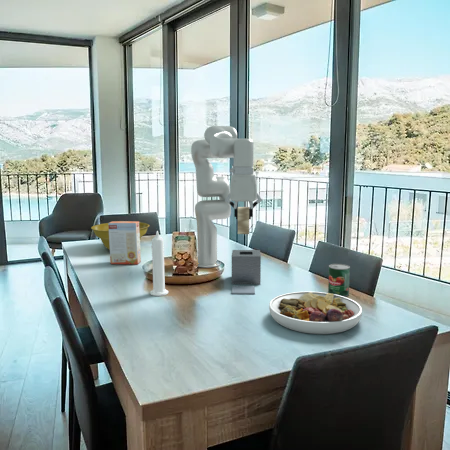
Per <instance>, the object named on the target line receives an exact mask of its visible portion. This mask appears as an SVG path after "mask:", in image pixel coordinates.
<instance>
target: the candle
mask: <svg viewBox="0 0 450 450" xmlns="http://www.w3.org/2000/svg"><path fill="white" fill-rule="evenodd" d="M159 233H160V232H159V230H156V233H155V235H154V237H153V238H152V239H151V257H152V259H151V260H152V261H151V262H152V288H153V289H152V290H150V291H149V294H150V295H151V296H153V297H164V296H167V295H168V294H169V290H167V289H166V284H165V283H166V282H165V281H166V280H165V278H166V277H165V250H164V249H165V248H164V246H165V245H164V241H165V240H164V238H163V237H162V236H160V234H159Z"/></svg>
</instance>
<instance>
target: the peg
mask: <svg viewBox="0 0 450 450" xmlns="http://www.w3.org/2000/svg"><path fill="white" fill-rule="evenodd" d="M237 207H238V219H237V235H250V219H249V207H250V206H237Z"/></svg>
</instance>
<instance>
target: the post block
mask: <svg viewBox="0 0 450 450" xmlns="http://www.w3.org/2000/svg"><path fill="white" fill-rule="evenodd" d="M261 259H262V257H261V249H232V251H231V285H260V286H261V280H262V279H261V272H262V270H261V269H262V267H261V264H262V263H261Z"/></svg>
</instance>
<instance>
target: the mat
mask: <svg viewBox="0 0 450 450" xmlns="http://www.w3.org/2000/svg"><path fill="white" fill-rule="evenodd" d="M231 288H232V289H231V295H256V288H255V285H232V287H231Z"/></svg>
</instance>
